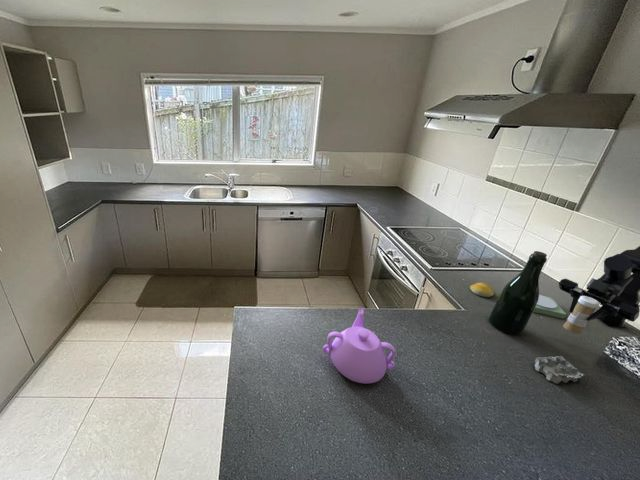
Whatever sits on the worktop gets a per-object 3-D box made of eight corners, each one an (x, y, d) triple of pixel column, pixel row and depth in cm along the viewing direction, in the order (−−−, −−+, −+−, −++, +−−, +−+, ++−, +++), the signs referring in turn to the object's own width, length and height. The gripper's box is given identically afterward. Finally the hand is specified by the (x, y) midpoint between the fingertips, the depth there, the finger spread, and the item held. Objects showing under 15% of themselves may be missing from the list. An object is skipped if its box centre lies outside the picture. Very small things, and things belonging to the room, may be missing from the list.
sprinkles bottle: (562, 323, 103) (579, 293, 98) (580, 329, 100) (599, 299, 95) (563, 329, 100) (581, 299, 95) (581, 336, 97) (601, 305, 92)
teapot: (385, 342, 100) (394, 312, 95) (396, 398, 81) (408, 364, 75) (323, 329, 105) (328, 299, 100) (319, 378, 86) (325, 345, 81)
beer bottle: (500, 315, 116) (534, 244, 103) (528, 333, 107) (569, 258, 94) (481, 319, 114) (513, 247, 101) (508, 338, 104) (548, 261, 91)
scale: (549, 302, 126) (552, 295, 124) (563, 318, 115) (567, 312, 114) (510, 293, 131) (513, 287, 129) (521, 309, 120) (524, 302, 119)
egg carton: (551, 384, 87) (557, 375, 85) (528, 364, 94) (533, 355, 92) (582, 383, 88) (589, 374, 86) (557, 362, 95) (562, 354, 93)
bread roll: (466, 289, 132) (468, 282, 131) (477, 285, 136) (480, 278, 134) (485, 300, 125) (488, 292, 124) (496, 295, 129) (499, 288, 127)
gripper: (573, 259, 100) (542, 290, 101) (655, 288, 84) (618, 325, 85) (575, 273, 106) (545, 303, 107) (652, 304, 90) (617, 338, 91)
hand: (578, 316), depth 97 cm, fingers closed on sprinkles bottle, 4 cm apart
